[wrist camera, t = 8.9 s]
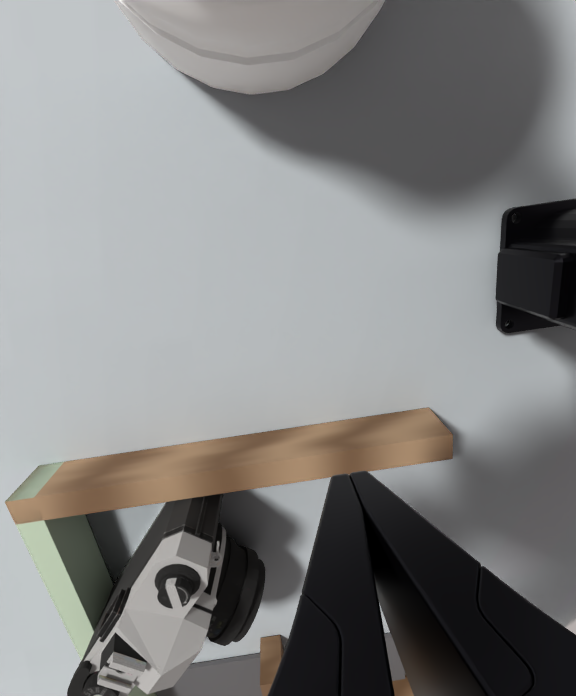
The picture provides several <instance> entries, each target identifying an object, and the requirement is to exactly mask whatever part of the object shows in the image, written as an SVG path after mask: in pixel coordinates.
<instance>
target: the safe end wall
mask: <svg viewBox="0 0 576 696" xmlns="http://www.w3.org/2000/svg"><path fill="white" fill-rule="evenodd" d="M63 463H64V462H60V463H53V464H48V465H43V466H41V465H40V466H39V467H38V468H37V471H34V472H35V473H34V472H33V473H32V474H31V479H30V477H28V478H29V479H28V478H27V479H28V480H29V481H27V479H26V481H27V482H28V483H27V482H26V481H24V482H25V483H24V482H23V483H24V484H23V488H22V487H21V486H22V485H21V486H19V489H18V488H17V491H15V493H16V492H17V493H16V494H14V493H13V494H14V495H15V496H14V495H13V494H12V495H11V496H12V498H11V496H10V497H9V498H8V499H9V500H10V499H12V501H15V500H21V499H28V498H34V497H35V496H36V494H37V493H38V492H39V491H40V490H41V489H42V487H43V486H44V485H45V484H46V483H47V481H48V480H49V479H50V478H51V477H52V476H53V474H54V473H55V472H56V471H57V470H58V468H59V467H60V466H61V465H62V464H63ZM44 466H46V468H45V467H44ZM40 467H41V468H40ZM42 467H43V468H42ZM46 469H47V470H46ZM51 469H52V470H51ZM35 470H36V469H35ZM38 470H39V472H38ZM42 470H43V471H42ZM32 476H33V477H32ZM35 478H36V479H35ZM34 479H35V480H34ZM26 483H27V485H25V484H26ZM32 483H33V485H32ZM26 486H27V487H26ZM28 487H29V488H28ZM21 489H22V490H23V491H22V490H21ZM18 491H19V492H18ZM24 492H25V493H24ZM18 494H19V495H18ZM20 494H21V495H20ZM16 495H17V496H16ZM13 496H14V497H15V498H14V497H13ZM16 497H17V498H16ZM9 500H7V501H9ZM7 501H5V502H7ZM10 501H11V500H10ZM37 509H38V508H37ZM31 510H32V509H31ZM38 511H39V510H38ZM25 512H26V511H25ZM27 512H28V511H27ZM16 513H17V512H16ZM37 514H38V513H37ZM32 515H33V514H32ZM25 516H26V515H25ZM40 516H41V515H40ZM29 517H30V516H29ZM13 518H14V517H13ZM33 518H34V516H33ZM36 518H37V517H35V519H36ZM31 519H32V518H31ZM42 519H43V518H42ZM23 520H24V519H23ZM36 520H38V518H37V519H36ZM31 521H32V520H31ZM19 523H20V522H19ZM16 526H17V528H18V530H19V532H20V534H21V537H22V539H23V541H24V543H25V545H26V547H27V549H28V551H29V553H30V555H31V557H32V559H33V561H34V563H35V565H36V568H37V570H38V572H39V574H40V576H41V578H42V580H43V582H44V584H45V586H46V588H47V590H48V592H49V594H50V597H51V599H52V601H53V603H54V605H55V607H56V609H57V611H58V613H59V615H60V617H61V619H62V621H63V623H64V625H65V628H66V630H67V632H68V634H69V636H70V638H71V640H72V642H73V644H74V646H75V648H76V650H77V652H78V654H79V657H80V659H81V661H82V659H83V657H84V654H85V652H86V650H87V647H88V645H89V643H90V640H91V638H92V636H93V633H94V631H95V629H96V626H97V624H98V622H99V619H100V617H101V615H102V612H103V610H104V608H105V605H106V603H107V601H108V598H109V596H110V592H111V590H112V588H113V583H112V581H111V578H110V576H109V573H108V571H107V568H106V566H105V563H104V561H103V558H102V556H101V553H100V551H99V548H98V546H97V543H96V541H95V538H94V536H93V533H92V531H91V528H90V526H89V523H88V520H87V518H86V515H85V514H83V515H76V516H69V517H63V518H56V519H49V520H43V521H36V522H30V523H27V522H26V523H23V524H22V523H20V524H16ZM128 696H157V694H156V692H154V693H150V694H146V693H145V692H143V691H142V690H141V689H140V688H138V687H137V686H136V685H135V686H134V688H133V689H132V690H131V692H130V693H129V695H128Z"/></svg>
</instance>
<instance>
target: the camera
mask: <svg viewBox="0 0 576 696" xmlns="http://www.w3.org/2000/svg"><path fill="white" fill-rule="evenodd" d="M223 495H224V493H222V494H215V495H209V496H202V497H195V498H189V499H182V500H175V501H169V502H166V503H165V505H164V506H163V508H162V509H161V511H160V512H159V514H158V516H157V517H156V519H155V520H154V522H153V524H152V525H151V527H150V528H149V530H148V532H147V533H146V535H145V536H144V538H143V539H142V541H141V543H140V544H139V546H138V547H137V549H136V551H135V552H134V554H133V555H132V557H131V559H130V560H129V562H128V563H127V565H126V566H125V568H124V570H123V571H122V573H121V574H120V576H119V578H118V579H117V581H116V582H115V584H114V586H113V588H112V590H111V592H110V596H109V598H108V601H107V603H106V605H105V608H104V610H103V612H102V615H101V617H100V619H99V622H98V624H97V626H96V629H95V631H94V633H93V636H92V638H91V640H90V643H89V645H88V647H87V650H86V652H85V654H84V657H83V659H82V661H81V662H80V664H79V667H78V668H77V670H76V672H75V674H74V676H73V678H72V680H71V683H70V685H69V688H68V692H67V696H128V695H129V693H130V692H131V690H132V689H133V688H134V686H135V685H136V686H137V687H138V688H140V689H141V690H142V691H143V692H145V693H146V694H150V693H154V692H157V691H161V690H164V689H167V688H171V687H173V686H174V685H175V684H176V682H177V681H178V680H179V678H180V677H181V676H182V674H183V673H184V672H185V671H186V669H187V668H188V667H189V665H190V664H191V663H192V661H193V660H194V659H195V658H196V656H197V655H198V654H199V652H200V651H201V649H202V646H203V643H204V641H205V638H206V636H207V637H208V638H209V640H210V641H212V642H214V643H217V644H220V645H224V646H226V645H228V644H229V643H230V642H232V641H233V642H238V641H240V640H241V639H242V638H243V637H244V636H245V635H246V634H247V632H248V630H249V629H250V627H251V625H252V623H253V621H254V619H255V616H256V614H257V611H258V609H259V606H260V602H261V599H262V595H263V590H264V583H265V567H264V563H263V562H262V560H260V559H258V555H257V553H256V552H255V551H253V550H251V549H249V548H246V547H244V546H242V547H238V545H237V544H236V542H235V540H234V539H231V538H229V537H226V530H225V528H224V527H222V525H221V524H220V523H218V521H219V515H220V509H221V503H222V497H223Z"/></svg>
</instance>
